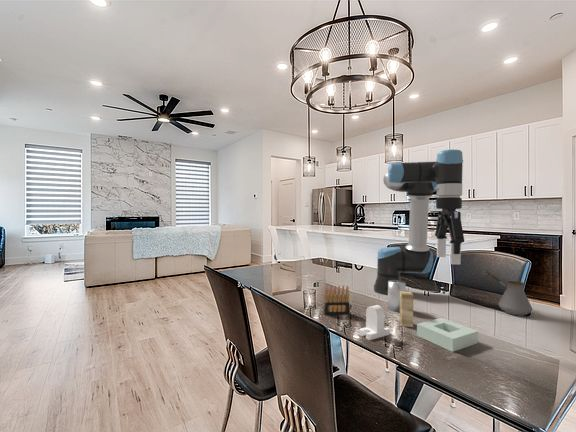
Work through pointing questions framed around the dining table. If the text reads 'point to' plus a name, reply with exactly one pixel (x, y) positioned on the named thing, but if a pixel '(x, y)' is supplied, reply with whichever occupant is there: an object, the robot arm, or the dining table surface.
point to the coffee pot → (513, 298)
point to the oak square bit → (406, 309)
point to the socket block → (447, 334)
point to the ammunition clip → (336, 301)
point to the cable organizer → (374, 323)
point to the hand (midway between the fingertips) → (447, 260)
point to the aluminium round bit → (395, 294)
